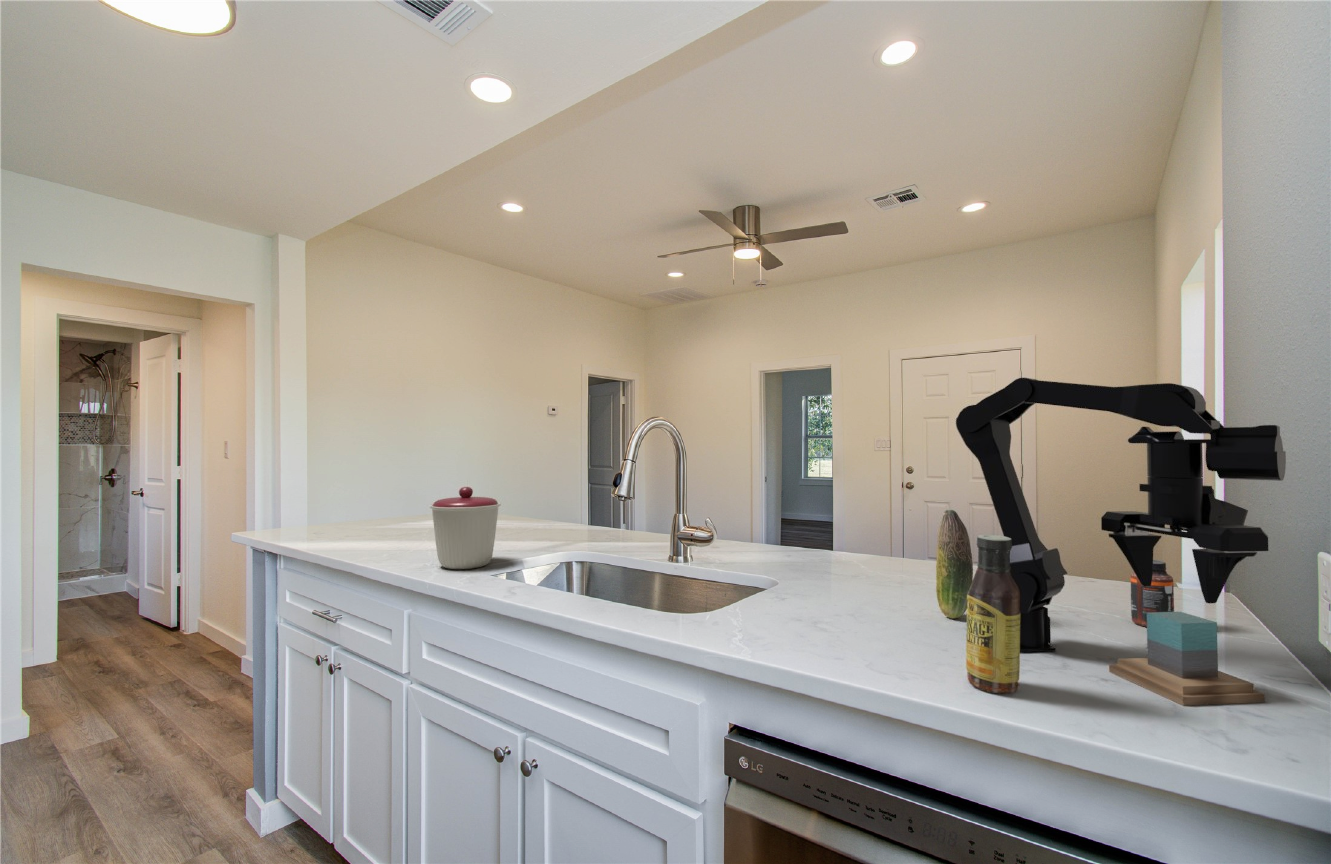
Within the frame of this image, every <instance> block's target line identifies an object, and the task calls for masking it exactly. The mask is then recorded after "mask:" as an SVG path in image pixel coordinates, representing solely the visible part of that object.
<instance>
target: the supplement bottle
mask: <svg viewBox="0 0 1331 864" xmlns="http://www.w3.org/2000/svg"><path fill="white" fill-rule="evenodd" d="M1129 578H1130V581H1129V582H1130V611H1131V612H1130V614H1131V615H1130V616H1131V621H1132V623H1134V624H1136V625H1137V626H1141V627H1144V628H1147V613H1150V612H1175V594H1174V593H1175V592H1174V591H1175V590H1174V588H1175V587H1174V579H1173V576H1171V574H1168V573H1167V564H1166V562H1165V561H1162V560H1156V559H1153V576H1152V583H1151V586H1143V585H1142V584H1141V583H1140V581H1139V579H1138V578H1137V576H1136V574H1135V572H1134V571H1132V572H1131V573H1130V577H1129Z"/></svg>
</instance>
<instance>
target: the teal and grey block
mask: <svg viewBox="0 0 1331 864" xmlns="http://www.w3.org/2000/svg"><path fill="white" fill-rule="evenodd" d="M1146 642H1147V643H1146V645H1147V647H1146V649H1147V655H1146V656H1147V658H1148V665H1151V666H1153V667H1156V668H1158V669H1160V670H1163V671H1165V672H1168V673H1170V674H1173V675H1175V676H1178V677H1180V678H1182V679H1183V678H1208V677H1218V671H1219V658H1218V657H1219V655H1218V654H1219V652H1218V649H1219V648H1218V647H1219V645H1218V622H1217V621H1215V620H1210V619H1208V618H1203V617H1200V616H1196V615H1193V614H1191V613H1187V612H1182V611H1174V612H1150V613H1147V627H1146Z"/></svg>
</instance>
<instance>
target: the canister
mask: <svg viewBox="0 0 1331 864" xmlns="http://www.w3.org/2000/svg"><path fill="white" fill-rule="evenodd" d="M473 493H474V490H473V488H472V487H469V486H464V487H463V486H462V487H461V488H460V489H459V491H458V495H459V497H458V496H456V497H447V498H441V499H437V500H436V501H435V502H433V503H432V504H430V505H429V508H430V509H431V510H432V520H433V521H432V523H433V530H434V540H435V546H436V553H437V554H436V555H437V560H438V562H439V564H440V565H441V566H442V567H443V568H446V569H449V570H471V569H478V568H482V567H484V566H487V565H488V564H490V562H491V561H492V558H493V554H494V547H495V539H496V531H497V524H498V523H497V522H498V515H499V507H500V506H501V505H502V503H501V502H499V501H498V500H496V499H494V498H493V497H487V496H486V497H485V496H473Z"/></svg>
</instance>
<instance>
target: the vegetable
mask: <svg viewBox="0 0 1331 864" xmlns="http://www.w3.org/2000/svg"><path fill="white" fill-rule="evenodd" d="M938 528H939V529H938V534H937V547H936V566H935V568H936V573H935V574H936V575H935V579H936V580H935V581H936V582H935V583H936V585H935V587H936V588H935V589H936V590H935V592H936V599H937V603H938V607H939V609H940V611H941V612H942V614H943V615H944V616H945V617H947V618H948V619H958V618H961V617H963V615H964V614H965V613H966V612H967V594H968V591H969V588H970V586H971V583H972V581H973V578H974V567H973V565H974V561H973V554H972V548H971V547H972V546H971V542H970V541H971V539H970V537H969V533H968V529H967V527H966V525H965V524H964V522H963V520H962V519H961V518H960V516H959V514H958V513H957V511H955V510H954V509H946V510H945V511H944V512H943V514H942V518H941V522H940V525H939V527H938Z"/></svg>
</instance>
